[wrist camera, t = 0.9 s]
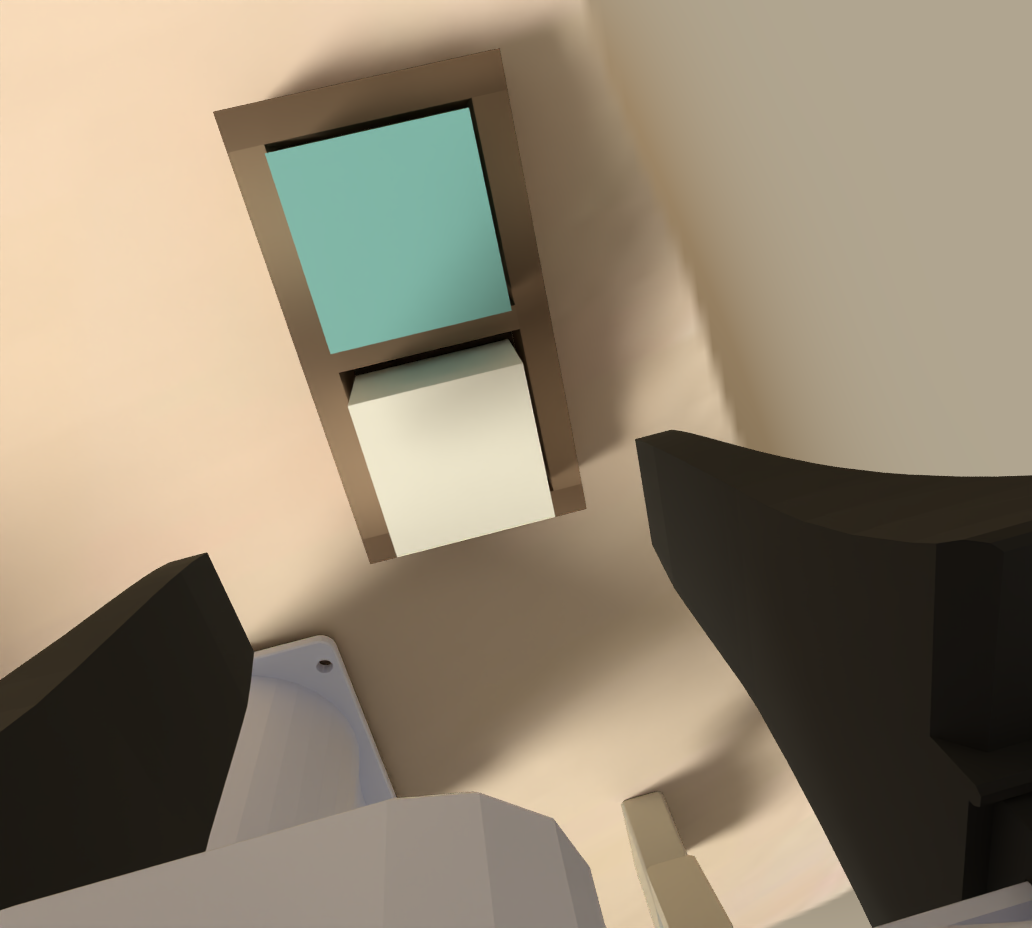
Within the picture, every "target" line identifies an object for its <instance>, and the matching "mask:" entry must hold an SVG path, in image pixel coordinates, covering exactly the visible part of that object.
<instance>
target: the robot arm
mask: <svg viewBox="0 0 1032 928" xmlns="http://www.w3.org/2000/svg"><path fill="white" fill-rule="evenodd" d="M635 441H636V448H637V454H638V460H639V466H640V472H641V478H642V485H643V491H644V497H645V503H646V509H647V515H648V522H649V528H650V534H651V540H652V545H653V547H654V549H655V551H656V553H657V555H658V557H659V559H660V561H661V563H662V565H663V567H664V569H665V571H666V573H667V575H668V577H669V579H670V581H671V583H672V584H673V586H674V588H675V590H676V591H677V593H678V594H679V596H680V597H681V599H682V600H683V601H684V603H685V604H686V606H687V607H688V609H689V610H690V611H691V613H692V614H693V616H694V617H695V619H696V620H697V621H698V623H699V624H700V626H701V627H702V628H703V630H704V631H705V633H706V634H707V635H708V637H709V638H710V640H711V641H712V642H713V644H714V645H715V647H716V648H717V650H718V651H719V652H720V654H721V655H722V657H723V658H724V659H725V661H726V662H727V664H728V665H729V666H730V668H731V669H732V671H733V672H734V673H735V675H736V676H737V678H738V679H739V680H740V682H741V683H742V685H743V686H744V688H745V689H746V691H747V692H748V694H749V696H750V697H751V699H752V700H753V702H754V703H755V705H756V706H757V708H758V710H759V712H760V713H761V715H762V717H763V719H764V721H765V722H766V724H767V726H768V728H769V730H770V731H771V733H772V735H773V737H774V739H775V740H776V742H777V744H778V746H779V748H780V749H781V751H782V753H783V755H784V757H785V758H786V760H787V762H788V764H789V766H790V768H791V769H792V771H793V773H794V775H795V777H796V779H797V781H798V783H799V785H800V786H801V788H802V790H803V792H804V794H805V796H806V798H807V800H808V801H809V803H810V805H811V807H812V809H813V811H814V813H815V815H816V817H817V818H818V820H819V822H820V824H821V826H822V828H823V830H824V832H825V834H826V836H827V838H828V840H829V842H830V844H831V846H832V848H833V850H834V852H835V854H836V856H837V858H838V860H839V862H840V864H841V866H842V868H843V870H844V872H845V874H846V875H847V877H848V879H849V881H850V883H851V885H852V887H853V889H854V891H855V893H856V895H857V897H858V899H859V901H860V903H861V905H862V907H863V909H864V912H865V914H866V916H867V918H868V920H869V922H870V924H871V926H872V928H1032V476H1002V477H954V476H930V475H906V474H892V473H881V472H873V471H865V470H856V469H847V468H840V467H833V466H827V465H820V464H815V463H810V462H805V461H800V460H795V459H790V458H785V457H780V456H776V455H772V454H768V453H763V452H759V451H755V450H752V449H748V448H744V447H740V446H737V445H733V444H729V443H725V442H722V441H718V440H715V439H711V438H707V437H703V436H700V435H696V434H692V433H687V432H683V431H676V430H669V431H665V432H661V433H657V434H653V435H650V436H646V437H642V438H638V439H635ZM321 660H328V661H330V662H331V663H332V664H330V665H322V664H320V663H319V661H321ZM0 928H606V926H605V923H604V920H603V916H602V912H601V908H600V904H599V901H598V897H597V893H596V889H595V886H594V882H593V878H592V874H591V870H590V867H589V866H588V864H587V863H586V862H585V860H584V859H583V858H582V856H581V855H580V854H579V852H578V851H577V850H576V848H575V847H574V846H573V844H572V843H571V841H570V840H569V839H568V837H567V836H566V835H565V833H564V832H563V831H562V829H561V828H560V827H559V825H558V824H557V823H556V821H555V820H554V819H553V818H550V817H547V816H545V815H542V814H539V813H536V812H533V811H530V810H527V809H524V808H522V807H519V806H516V805H513V804H510V803H507V802H504V801H502V800H499V799H496V798H493V797H490V796H487V795H484V794H482V793H478V792H461V793H450V794H438V795H426V796H415V797H403V798H397V797H396V795H395V792H394V790H393V787H392V785H391V782H390V780H389V777H388V774H387V772H386V769H385V767H384V764H383V762H382V759H381V757H380V754H379V752H378V749H377V747H376V744H375V742H374V739H373V736H372V734H371V731H370V729H369V726H368V724H367V721H366V719H365V716H364V714H363V711H362V709H361V706H360V704H359V701H358V698H357V696H356V693H355V691H354V688H353V686H352V683H351V681H350V678H349V676H348V673H347V671H346V668H345V666H344V663H343V660H342V658H341V655H340V653H339V650H338V648H337V645H336V643H335V642H334V640H333V639H331V638H330V637H328V636H324V635H319V636H313V637H309V638H305V639H302V640H298V641H294V642H290V643H286V644H282V645H279V646H275V647H271V648H267V649H263V650H259V651H256V652H254V651H253V648H252V646H251V644H250V642H249V640H248V638H247V636H246V634H245V632H244V629H243V627H242V625H241V623H240V621H239V619H238V617H237V615H236V612H235V610H234V608H233V606H232V604H231V602H230V600H229V598H228V596H227V593H226V591H225V589H224V587H223V585H222V583H221V581H220V579H219V577H218V574H217V572H216V570H215V568H214V566H213V564H212V562H211V560H210V558H209V555H208V553H203V554H199V555H196V556H192V557H188V558H184V559H180V560H177V561H173V562H170V563H168V564H166V565H164V566H162V567H160V568H158V569H156V570H154V571H153V572H151V573H150V574H148V575H147V576H145V577H143V578H142V579H141V580H139V581H138V582H136V583H135V584H133V585H132V586H130V587H129V588H128V589H126V590H125V591H123V592H122V593H121V594H119V595H118V596H117V597H115V598H114V599H112V600H111V601H110V602H108V603H107V604H106V605H104V606H103V607H102V608H100V609H99V610H98V611H96V612H95V613H94V614H92V615H91V616H89V617H88V618H87V619H85V620H84V621H83V622H81V623H80V624H79V625H77V626H76V627H75V628H73V629H72V630H71V631H69V632H68V633H66V634H65V635H64V636H62V637H61V638H60V639H58V640H57V641H55V642H54V643H52V644H51V645H50V646H48V647H47V648H45V649H44V650H42V651H41V652H40V653H38V654H37V655H35V656H34V657H32V658H31V659H30V660H28V661H27V662H25V663H24V664H23V665H21V666H20V667H18V668H17V669H15V670H14V671H13V672H11V673H10V674H8V675H7V676H5V677H4V678H3V679H1V680H0Z"/></svg>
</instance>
